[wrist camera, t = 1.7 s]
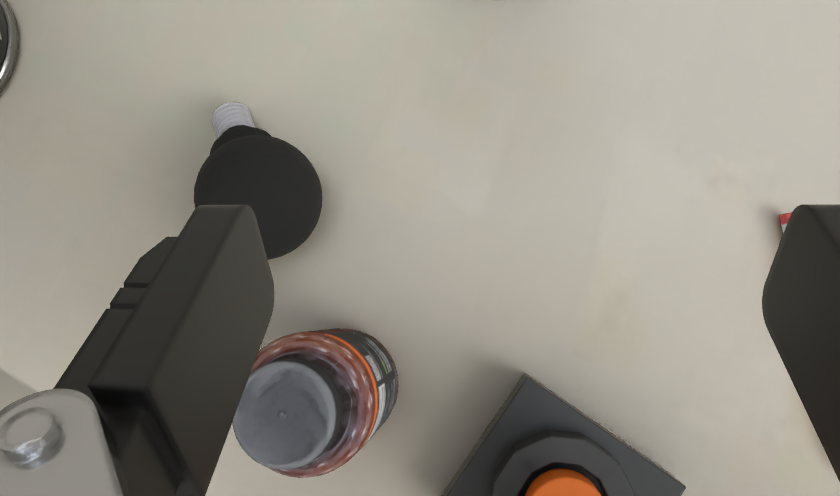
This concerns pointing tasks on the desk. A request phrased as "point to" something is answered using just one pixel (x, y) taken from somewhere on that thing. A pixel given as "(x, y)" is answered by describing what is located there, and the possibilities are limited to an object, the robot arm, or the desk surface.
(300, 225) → the light bulb
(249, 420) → the supplement bottle
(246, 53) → the desk surface
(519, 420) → the control box
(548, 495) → the button
